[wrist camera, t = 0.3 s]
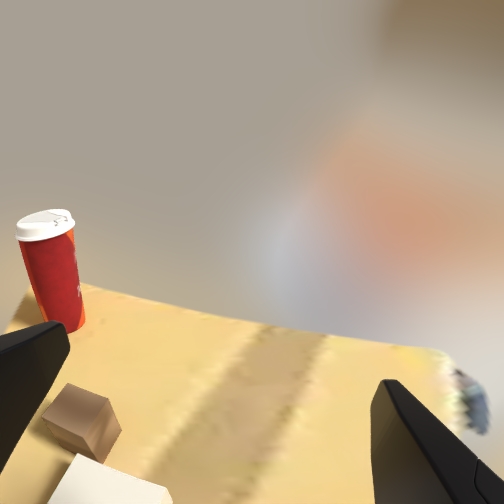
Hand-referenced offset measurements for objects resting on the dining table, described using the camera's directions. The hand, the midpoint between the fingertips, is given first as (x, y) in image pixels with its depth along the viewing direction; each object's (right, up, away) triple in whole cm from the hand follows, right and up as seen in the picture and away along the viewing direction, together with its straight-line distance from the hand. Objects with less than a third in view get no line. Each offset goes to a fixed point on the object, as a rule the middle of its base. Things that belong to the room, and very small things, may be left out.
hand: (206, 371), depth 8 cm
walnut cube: (-12, -13, +13) cm, 22 cm away
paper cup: (-23, -6, +27) cm, 36 cm away
